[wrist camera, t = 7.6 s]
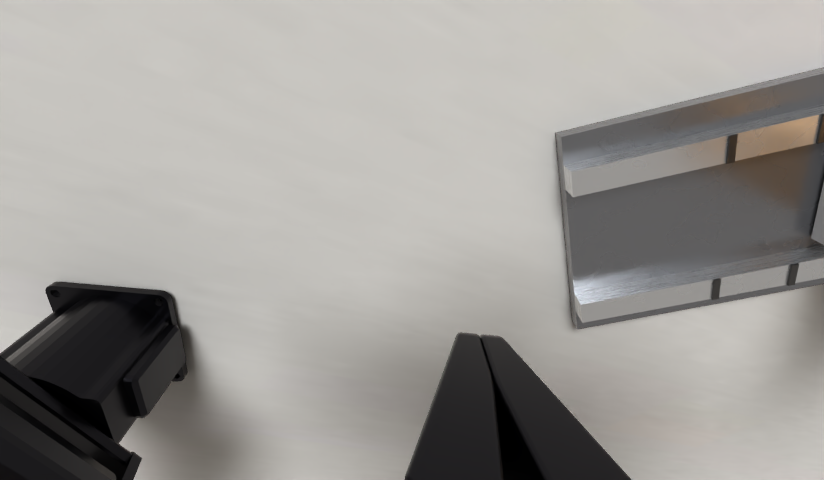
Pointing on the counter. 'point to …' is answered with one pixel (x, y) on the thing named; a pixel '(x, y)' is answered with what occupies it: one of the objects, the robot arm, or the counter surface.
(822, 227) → the fader tab
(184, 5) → the counter surface
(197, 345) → the counter surface
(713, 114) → the plate
